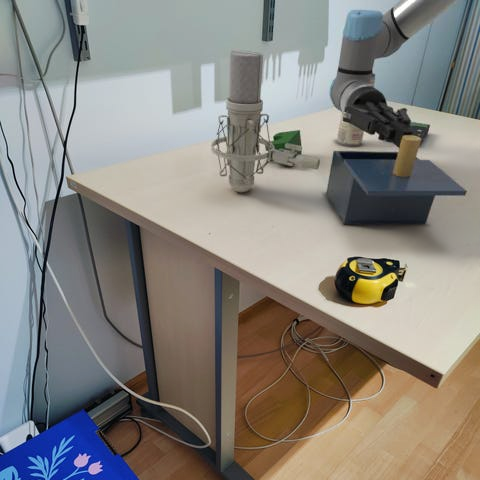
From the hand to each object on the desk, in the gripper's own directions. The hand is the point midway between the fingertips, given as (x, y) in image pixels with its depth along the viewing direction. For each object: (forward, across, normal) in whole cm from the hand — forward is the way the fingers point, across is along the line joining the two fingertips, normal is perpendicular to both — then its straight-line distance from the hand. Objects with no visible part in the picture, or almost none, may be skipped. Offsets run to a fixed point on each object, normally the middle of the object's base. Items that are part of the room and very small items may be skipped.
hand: (405, 140), depth 71 cm
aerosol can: (-48, -7, -15) cm, 51 cm away
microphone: (-12, +22, -15) cm, 29 cm away
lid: (+2, 0, -6) cm, 6 cm away
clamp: (-34, +14, -15) cm, 40 cm away
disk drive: (-54, -26, -15) cm, 62 cm away
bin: (-6, 0, -15) cm, 16 cm away
